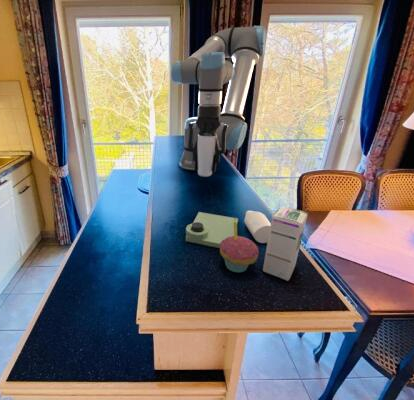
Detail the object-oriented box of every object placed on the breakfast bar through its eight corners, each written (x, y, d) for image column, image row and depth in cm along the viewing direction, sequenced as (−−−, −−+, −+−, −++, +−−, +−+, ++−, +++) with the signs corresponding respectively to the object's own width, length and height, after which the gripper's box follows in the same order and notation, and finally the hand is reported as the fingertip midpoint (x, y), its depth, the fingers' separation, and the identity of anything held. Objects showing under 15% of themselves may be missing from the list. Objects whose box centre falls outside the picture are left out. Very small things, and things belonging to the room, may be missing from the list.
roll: (258, 220, 81) (260, 203, 78) (274, 243, 70) (278, 224, 67) (238, 220, 80) (240, 204, 78) (252, 243, 70) (255, 225, 67)
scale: (197, 215, 84) (197, 207, 82) (237, 222, 79) (238, 213, 78) (183, 241, 71) (183, 232, 69) (230, 251, 66) (232, 241, 65)
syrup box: (288, 282, 57) (304, 223, 50) (260, 271, 60) (272, 215, 54) (294, 267, 61) (309, 212, 54) (268, 258, 64) (279, 204, 58)
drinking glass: (194, 177, 97) (196, 136, 90) (196, 170, 103) (198, 132, 96) (213, 178, 96) (216, 137, 89) (214, 172, 101) (217, 132, 95)
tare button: (193, 226, 73) (193, 221, 72) (203, 228, 72) (204, 223, 71) (190, 231, 70) (190, 226, 69) (201, 233, 69) (201, 228, 68)
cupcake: (210, 265, 62) (214, 221, 56) (230, 250, 67) (236, 208, 62) (243, 284, 56) (252, 236, 51) (262, 265, 61) (271, 221, 56)
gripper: (179, 105, 88) (178, 170, 98) (237, 107, 82) (229, 176, 92) (185, 103, 94) (183, 164, 105) (239, 104, 88) (232, 170, 98)
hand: (205, 170), depth 98 cm, fingers closed on drinking glass, 6 cm apart
